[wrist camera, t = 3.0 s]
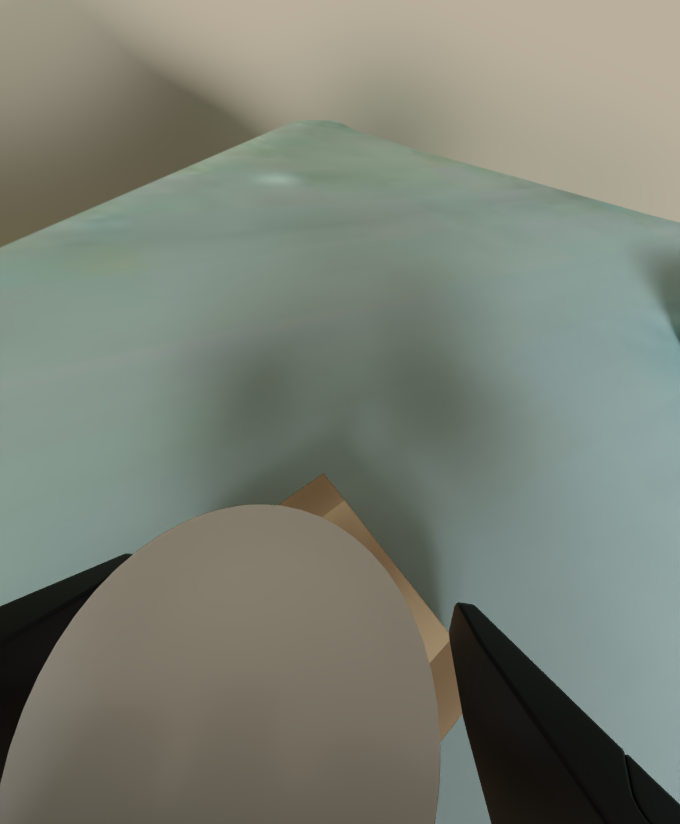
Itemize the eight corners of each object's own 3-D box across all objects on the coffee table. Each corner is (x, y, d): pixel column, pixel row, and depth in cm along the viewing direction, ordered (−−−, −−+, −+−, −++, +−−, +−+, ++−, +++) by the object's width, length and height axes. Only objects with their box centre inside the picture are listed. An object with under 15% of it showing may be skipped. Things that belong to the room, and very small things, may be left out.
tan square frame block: (445, 667, 13) (487, 682, 10) (264, 878, 10) (236, 1004, 7) (323, 503, 17) (323, 473, 13) (160, 623, 14) (108, 622, 10)
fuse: (375, 658, 12) (528, 755, 3) (282, 754, 11) (61, 1463, 2) (313, 563, 14) (294, 449, 5) (224, 635, 13) (-41, 662, 3)
